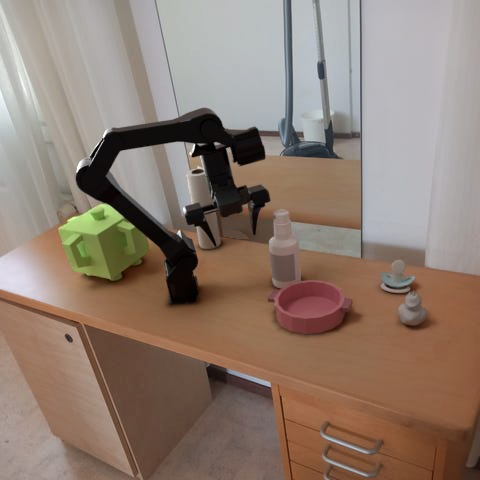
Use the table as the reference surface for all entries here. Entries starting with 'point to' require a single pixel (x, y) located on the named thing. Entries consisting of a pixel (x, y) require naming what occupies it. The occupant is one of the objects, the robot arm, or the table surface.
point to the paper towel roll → (202, 195)
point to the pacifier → (396, 278)
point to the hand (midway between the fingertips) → (235, 240)
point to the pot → (310, 306)
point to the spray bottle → (284, 251)
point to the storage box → (102, 243)
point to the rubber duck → (412, 310)
